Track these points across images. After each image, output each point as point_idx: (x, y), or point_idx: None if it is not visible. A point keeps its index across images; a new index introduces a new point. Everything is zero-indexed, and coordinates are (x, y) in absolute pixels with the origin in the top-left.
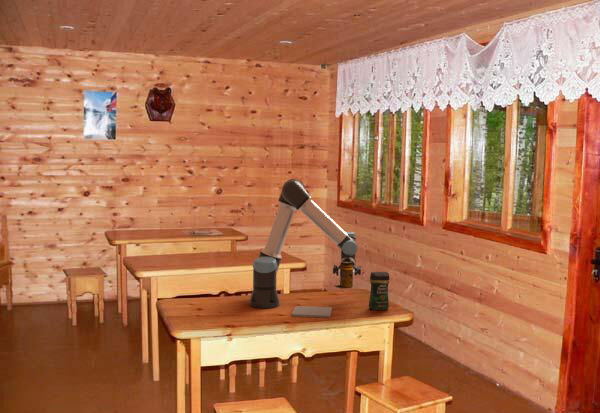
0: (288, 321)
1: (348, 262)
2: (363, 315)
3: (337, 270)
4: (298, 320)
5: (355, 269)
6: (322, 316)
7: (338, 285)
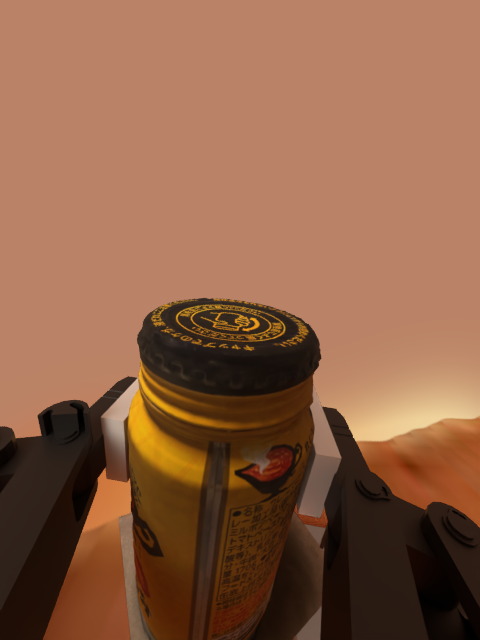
0: (411, 474)
1: (207, 320)
2: (93, 598)
3: (346, 452)
4: (389, 486)
5: (85, 418)
6: (320, 530)
7: (291, 616)
